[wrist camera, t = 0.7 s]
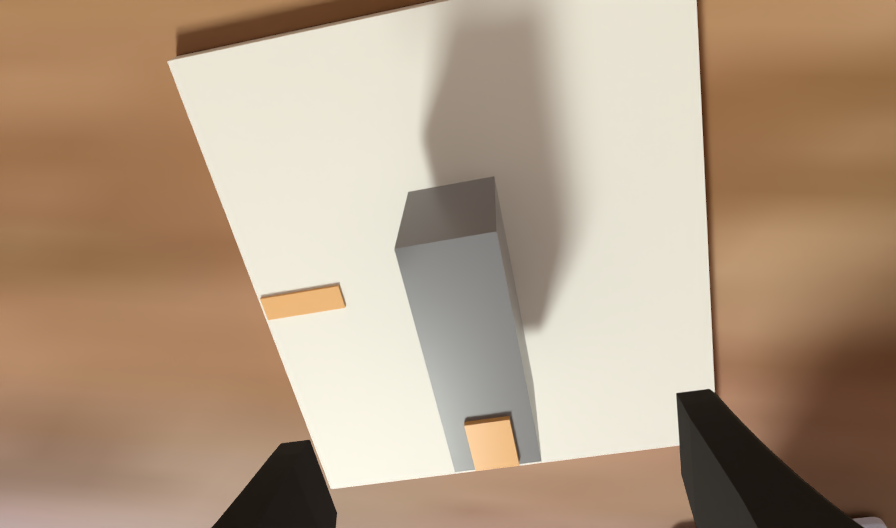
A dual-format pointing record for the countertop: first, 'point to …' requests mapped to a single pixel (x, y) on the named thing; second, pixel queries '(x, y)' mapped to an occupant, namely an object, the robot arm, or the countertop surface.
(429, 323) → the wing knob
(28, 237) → the countertop surface
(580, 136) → the board
